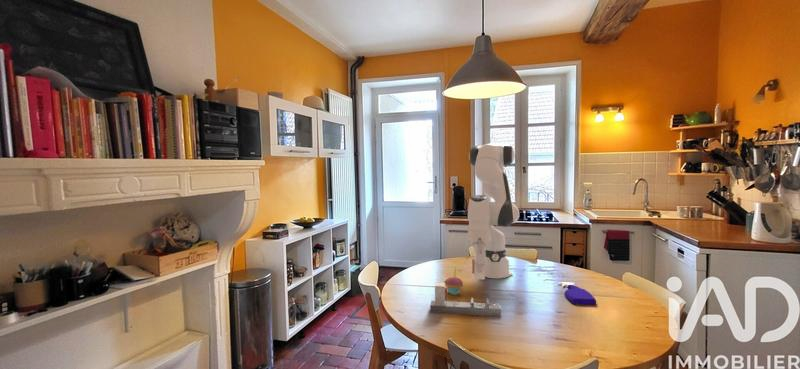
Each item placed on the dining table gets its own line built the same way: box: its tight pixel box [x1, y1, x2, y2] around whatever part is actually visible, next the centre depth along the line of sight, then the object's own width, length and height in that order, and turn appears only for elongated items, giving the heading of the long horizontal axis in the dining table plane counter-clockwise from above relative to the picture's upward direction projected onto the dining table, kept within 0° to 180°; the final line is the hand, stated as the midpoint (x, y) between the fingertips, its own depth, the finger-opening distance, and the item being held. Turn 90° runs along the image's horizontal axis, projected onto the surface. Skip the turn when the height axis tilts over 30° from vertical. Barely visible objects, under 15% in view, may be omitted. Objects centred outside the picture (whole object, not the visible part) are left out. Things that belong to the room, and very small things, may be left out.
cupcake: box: [444, 266, 464, 296], centre depth 159 cm, size 9×8×12 cm
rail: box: [429, 282, 502, 317], centre depth 138 cm, size 5×28×11 cm, turn 79°
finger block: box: [471, 256, 486, 280], centre depth 137 cm, size 4×5×8 cm
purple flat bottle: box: [557, 281, 597, 306], centre depth 154 cm, size 3×11×24 cm
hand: (479, 270), depth 137 cm, fingers closed on finger block, 4 cm apart
